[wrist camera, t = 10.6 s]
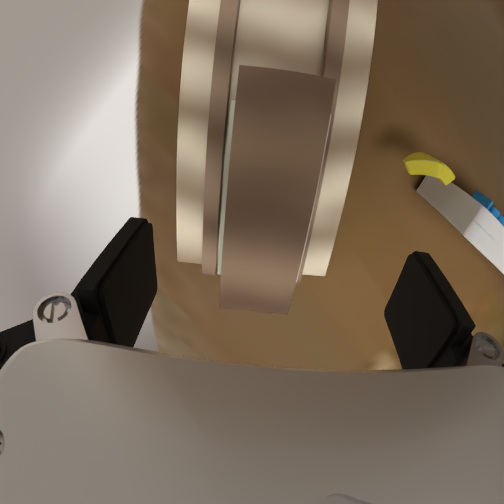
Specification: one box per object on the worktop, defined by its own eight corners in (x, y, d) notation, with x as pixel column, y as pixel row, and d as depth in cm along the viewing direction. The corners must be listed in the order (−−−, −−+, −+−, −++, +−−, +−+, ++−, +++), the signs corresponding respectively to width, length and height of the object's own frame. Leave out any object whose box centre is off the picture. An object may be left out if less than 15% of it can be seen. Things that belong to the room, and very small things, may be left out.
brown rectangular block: (244, 72, 19) (232, 64, 12) (311, 81, 19) (342, 80, 12) (227, 237, 27) (214, 307, 19) (284, 243, 27) (292, 314, 19)
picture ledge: (198, -25, 16) (190, -37, 13) (371, -2, 16) (385, -11, 14) (181, 252, 29) (173, 270, 27) (322, 267, 30) (327, 285, 27)
